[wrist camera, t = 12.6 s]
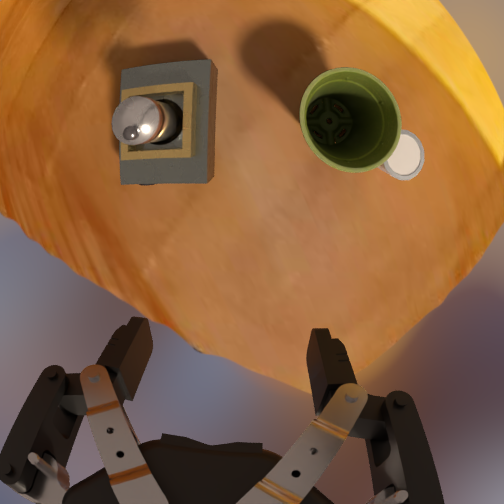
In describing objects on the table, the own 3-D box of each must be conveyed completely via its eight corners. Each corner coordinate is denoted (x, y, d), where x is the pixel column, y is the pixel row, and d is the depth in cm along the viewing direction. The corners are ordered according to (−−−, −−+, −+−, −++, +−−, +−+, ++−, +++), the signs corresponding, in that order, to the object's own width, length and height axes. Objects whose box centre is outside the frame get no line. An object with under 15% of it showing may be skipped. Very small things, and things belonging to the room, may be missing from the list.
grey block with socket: (139, 76, 33) (113, 66, 25) (217, 69, 33) (207, 54, 25) (138, 180, 40) (112, 192, 32) (214, 179, 40) (203, 191, 32)
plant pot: (281, 153, 38) (290, 160, 28) (294, 75, 33) (308, 54, 23) (358, 170, 38) (391, 183, 28) (371, 96, 34) (408, 87, 23)
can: (141, 104, 29) (107, 98, 21) (179, 100, 29) (154, 91, 21) (141, 143, 32) (106, 148, 23) (179, 140, 32) (153, 143, 23)
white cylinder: (365, 124, 36) (385, 123, 29) (403, 134, 36) (427, 136, 29) (360, 168, 38) (378, 175, 32) (398, 176, 38) (420, 184, 32)
